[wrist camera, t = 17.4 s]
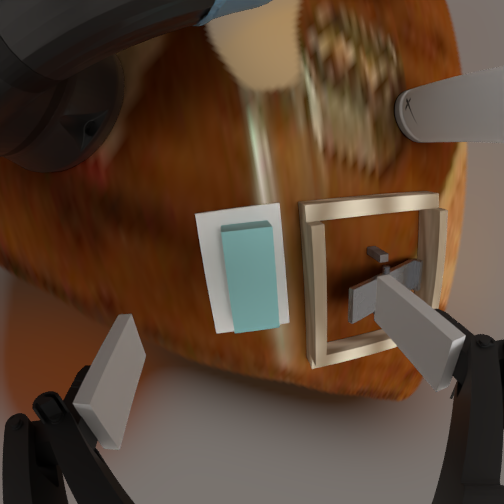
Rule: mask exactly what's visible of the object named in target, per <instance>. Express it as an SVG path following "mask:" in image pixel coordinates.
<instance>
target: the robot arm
mask: <svg viewBox="0 0 504 504" xmlns="http://www.w3.org/2000/svg"><path fill="white" fill-rule="evenodd" d="M270 1H272V0H0V156H3V157H5V158H7V159H9V160H10V161H12V162H14V163H16V164H18V165H20V166H21V167H23V168H25V169H27V170H30V171H34V172H55V171H62V170H66V169H69V168H71V167H74V166H76V165H77V164H79V163H81V162H82V161H84V160H85V159H87V158H88V157H89V156H90V155H91V154H93V153H94V152H95V151H96V150H97V149H98V148H99V146H100V145H101V144H102V143H103V142H104V140H105V139H106V137H107V136H108V134H109V133H110V131H111V130H112V128H113V126H114V124H115V122H116V120H117V117H118V115H119V112H120V109H121V105H122V101H123V96H124V74H123V69H122V66H121V63H120V61H119V59H118V57H117V55H116V54H115V53H117V52H120V51H122V50H124V49H126V48H129V47H131V46H133V45H136V44H138V43H141V42H144V41H146V40H149V39H152V38H154V37H157V36H160V35H163V34H166V33H169V32H172V31H175V30H178V29H182V28H185V27H188V26H192V25H193V26H201V25H204V24H206V23H208V22H209V21H211V20H212V19H215V18H218V17H221V16H224V15H228V14H231V13H235V12H239V11H244V10H248V9H253V8H256V7H260V6H262V5H264V4H267V3H269V2H270ZM374 320H375V321H376V323H377V324H378V325H379V326H380V327H381V328H382V329H383V330H384V332H385V333H386V334H387V335H388V336H389V337H390V338H391V339H392V341H393V342H394V343H395V344H396V345H397V346H398V348H399V349H400V350H401V351H402V352H403V353H404V354H405V356H406V357H407V358H408V359H409V360H410V361H411V363H412V364H413V365H414V366H415V367H416V369H417V370H418V371H419V372H420V373H421V374H422V376H423V377H424V378H425V379H426V380H427V382H428V383H429V384H430V385H431V387H432V388H433V389H434V390H435V391H436V392H438V391H440V390H442V389H444V388H446V387H448V386H449V384H450V382H451V379H452V376H454V378H455V379H456V380H457V382H456V385H455V387H454V390H453V392H452V395H451V397H450V398H451V399H452V398H453V396H454V401H453V410H452V417H451V424H450V430H449V436H448V442H447V447H446V452H445V456H444V461H443V466H442V469H441V473H440V478H439V481H438V485H437V488H436V492H435V495H434V499H433V502H432V504H504V486H503V485H500V473H501V462H502V447H503V429H504V340H499V341H495V340H494V339H493V338H492V337H490V336H488V335H484V334H478V335H475V336H474V335H473V334H472V333H471V332H469V331H468V330H467V329H466V328H465V327H464V326H462V325H461V324H460V323H457V321H456V320H455V319H452V317H451V316H450V315H449V314H447V313H446V312H444V311H442V310H439V309H433V308H432V307H431V306H429V305H428V304H427V303H426V302H424V301H423V300H422V299H420V298H419V297H418V296H417V295H415V294H414V293H413V292H411V291H410V290H409V289H408V288H406V287H405V286H404V285H402V284H401V283H400V282H398V281H397V280H396V279H394V278H393V277H392V276H391V275H389V274H388V275H383V276H378V277H377V290H376V304H375V315H374ZM145 357H146V354H145V352H144V349H143V346H142V343H141V340H140V338H139V335H138V332H137V329H136V326H135V323H134V320H133V316H132V314H122V315H118V317H117V319H116V320H115V322H114V324H113V326H112V327H111V329H110V331H109V333H108V335H107V337H106V338H105V340H104V342H103V344H102V346H101V348H100V349H99V352H98V353H97V355H96V357H95V359H94V361H93V363H92V365H91V366H84V367H83V368H82V369H81V370H80V371H79V372H78V373H77V375H76V377H75V379H74V382H73V383H72V385H71V387H70V389H69V391H68V392H67V394H66V396H65V399H64V400H62V399H61V397H60V396H59V394H58V393H56V392H53V391H49V392H45V393H42V394H41V395H39V396H38V397H37V398H36V399H35V400H34V402H33V410H34V411H35V413H36V414H37V416H38V417H39V418H40V420H39V421H32V422H31V421H30V420H29V418H28V417H27V416H26V415H25V414H22V413H18V414H15V415H13V416H11V417H10V418H9V419H8V420H7V422H6V425H5V432H4V444H3V474H2V475H3V503H4V504H68V500H67V495H66V490H65V486H64V480H63V475H64V477H65V479H66V481H67V483H68V486H69V488H70V489H71V491H72V494H73V495H74V497H75V499H76V501H77V503H78V504H135V503H134V502H133V501H132V500H131V498H130V497H129V496H128V494H127V493H126V492H125V490H124V489H123V488H122V486H121V485H120V484H119V482H118V480H117V479H116V478H115V476H114V475H113V473H112V472H111V470H110V469H109V467H108V466H107V464H106V463H105V461H104V459H103V458H102V456H101V455H100V453H99V451H98V450H97V449H96V448H95V447H96V444H97V440H98V441H99V443H100V444H101V445H102V447H103V448H104V449H116V450H120V447H121V443H122V439H123V435H124V431H125V427H126V423H127V420H128V416H129V412H130V409H131V405H132V402H133V398H134V395H135V391H136V388H137V384H138V381H139V377H140V374H141V371H142V367H143V364H144V361H145ZM62 473H63V474H62Z"/></svg>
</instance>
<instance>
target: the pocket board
mask: <svg viewBox="0 0 504 504" xmlns="http://www.w3.org/2000/svg"><path fill="white" fill-rule="evenodd" d="M298 204H299V216H300V229H301V242H302V257H303V273H304V292H305V314H306V343H307V358H308V361H309V363H310V365H311V368H312V369H313V368H318V367H323V366H327V365H331V364H336V363H340V362H344V361H348V360H352V359H356V358H359V357H363V356H367V355H370V354H374V353H377V352H381V351H384V350H388V349H391V348H394V347H397V345H396V344H395V343H394V342H393V341H392V339H391V338H390V337H389V336H388V335H387V334H386V333H385V332H384V330H383V329H381V330H377V331H373V332H369V333H365V334H361V335H357V336H353V337H349V338H345V339H340V340H336V341H332V342H327V279H326V249H325V229H324V224H323V223H321V222H320V221H322V220H331V219H339V218H347V217H356V216H365V215H374V214H383V213H392V212H402V211H411V210H419V238H418V257H417V259H419V260H422V261H423V267H422V278H421V287H420V290H419V291H416V290H415V291H414V294H415V295H417V296H418V297H419V298H420V299H422V300H423V301H424V302H426V303H427V304H428V305H429V306H431V307H432V308H433V309H438V307H439V301H440V295H441V288H442V280H443V272H444V263H445V252H446V239H447V218H448V210H445V209H442V208H439V193H434V192H429V191H418V192H403V193H389V194H376V195H364V196H353V197H342V198H331V199H321V200H312V201H303V202H298ZM367 254H368V255H369V256H371V257H372V258H374V259H375V260H377V261H378V262H380V263H381V262H386V261H388V253H386V252H384V251H383V250H381V249H379V248H378V247H376V246H372V247H367ZM373 314H374V315H375V311H374V312H373Z"/></svg>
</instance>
